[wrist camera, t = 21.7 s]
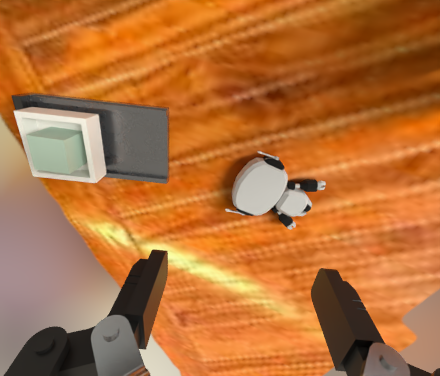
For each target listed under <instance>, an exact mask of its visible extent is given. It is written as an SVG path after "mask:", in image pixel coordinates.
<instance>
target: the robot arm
mask: <svg viewBox="0 0 440 376" xmlns="http://www.w3.org/2000/svg"><path fill="white" fill-rule="evenodd" d="M167 273H168V253H167V251H163V250H152V251H151V254H150V256H149V258H148V259H140V260H139V261H138V262H137V263H135V264H134V265H133V266H132V269H131V271H130V273H129V275H128V277H127V279H126V281H125V284H124V285H123V287H122V289H121V291H120V293H119V295H118V297H117V299H116V301H115V303H114V305H113V307H112V309H111V311H110V313H109V314H108V316H107V317H106V318H104V319H103V320H101V321H100V322H99V323H98V324H97V325H96V326H94V327H92V328H89V329H86V330H81V331H76V332H72V333H66V331H65V330H64V329H63V328H61V327H49V328H46V329H43V330H41V331H40V332H38V333H36V334H35V335H33V336H32V337H31V338H30V339H29V340H28V341H27V342H26V344H25V345H24V347H23V348H22V350H21V351H20V352H19V354H18V355H17V357H16V358H15V360H14V361H13V363H12V364H11V366H10V367H9V369H8V371H7V372H6V373H5V375H4V376H150V373H149V371H148V370H147V369H146V368H145V365H144V363H143V360H142V357H141V354H140V351H139V349H146V347H147V344H148V340H149V337H150V334H151V331H152V327H153V324H154V321H155V317H156V314H157V311H158V307H159V304H160V301H161V298H162V294H163V291H164V288H165V284H166V280H167ZM311 298H312V302H313V305H314V308H315V310H316V313H317V316H318V319H319V322H320V325H321V328H322V331H323V334H324V337H325V340H326V343H327V346H328V349H329V351H330V354H331V357H332V360H333V363H334V366H335V369H336V370H337V371H346V373H347V376H440V368H439V369H436V371H434V372H433V373H432V374H431V373H429V372H426V371H424V370H421V369H419V368H416V367H414V366H412V365H410V364H407V363H406V361H405V360H404V359H403V357H402V356H401V355H400V354H399V353H398V352H397V351H396V350H394V349H393V348H392V347H390V346H388V345H386V344H385V343H384V341H383V339H382V337H381V335H380V334H379V332H378V330H377V328H376V326H375V325H374V323H373V321H372V319H371V317H370V315H369V314H368V312H367V311H366V308H365V306H364V305H363V303H362V302H361V299H360V297H359V295H358V294H357V292H356V290H355V289H354V288H353V287H352V286H351V285H350V284H349V283H348V282H346V281H343V280H342V278H341V276H340V274H339V272H338V271H337V270H333V269H324V268H321V269H320V270H319V272H318V274H317V276H316V279H315V281H314V284H313V286H312V289H311Z"/></svg>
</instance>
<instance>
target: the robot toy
mask: <svg viewBox="0 0 440 376" xmlns="http://www.w3.org/2000/svg"><path fill="white" fill-rule="evenodd" d="M258 152H259V153H260V154H264V155H266V156H264V157H263V158H254V159H253V160H251V161H249V162H248V163H247V164H246V165H245V166H244V167H243V169H242V170H241V171H240V172H239V174H238V175H237V176H236V179H235V182H234V185H233V189H232V199H233V204H234V205H235V206H236V209H237V210H238V211H234V210H229V209H225V210H226V211H228V212H229V211H230V212H235V213H240V214H241V215H250V216H253V215H262V214H264V213H266V212H267V211H269V210H270V209H272V210H273V211H274V212H275V213H278V215H279V220H280V221H281V222H282V223H283V224H284V225H285V226H286V227H287V228H288V229H293V228H292V227H291V226H293V227H295V226H296V224H295V222H293V220H292V218H291V217H290V216H292V217H293V216H303V215H305V214H307V213H306V212H308V211H309V210H310V209H311V206H312V203H311V201H310V200H309V198H308V197H307V195H306V194H305V192H304V191H306V192H316V191H317V190H324V188H325V186H321V185H326V183H325V181H318V182H317V181H316V180H304V181H302V182H300V183H299V184H295V183H294V182H293V181H290V182H287V181H288V177H287V173H286V172H285V170H284V166H283V164H282V163H281V161H280V160H279V158H278V157H277V156H275V157H274V156H271V155H269V154H266V153H263V152H261V151H258ZM303 190H304V191H303Z"/></svg>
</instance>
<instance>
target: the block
mask: <svg viewBox="0 0 440 376" xmlns="http://www.w3.org/2000/svg"><path fill="white" fill-rule="evenodd" d="M26 137H27V141H28V145H29V149H30V153H31V157H32V161H33V165H34V169H36V170H43V171H50V172H57V173H64V174H71V173H72V172H74V171H75V170H77V169H78V168H80V167H81V166H83V165H84V164H86V163H87V156H86V150H85V145H84V139H83V133H82V131H79V130H72V129H65V128H58V127H48V128H46V129H43V130H40V131H37V132H34V133H31V134H28V135H26Z"/></svg>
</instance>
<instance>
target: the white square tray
mask: <svg viewBox="0 0 440 376" xmlns="http://www.w3.org/2000/svg"><path fill="white" fill-rule="evenodd" d="M14 114H15V118H16V121H17V125H18V128H19V131H20V135H21V138H22V141H23V145H24V148H25V151H26V155H27V158H28V162H29V165H30V168H31V172H32V175H33V176H35V177H44V178H53V179H62V180H71V181H81V182H90V183H97V182H98V181H99V180H100V179H102V178H103V177H104V176H105V175H106V169H107V167H106V163H105V159H104V151H103V144H102V137H101V129H100V122H99V121H100V115H99V114H96V113H83V112H74V111H65V110H56V109H51V108H38V107H29V108H25V109H20V110H15V111H14ZM48 127H58V128H65V129H72V130H79V131H82V133H83V139H84V145H85V150H86V156H87V163H86V164H84V165H83V166H81V167H80V168H78V169H77V170H75V171H74V172H72V173H71V174H64V173H57V172H50V171H43V170H36V169H34V165H33V161H32V157H31V153H30V149H29V145H28V141H27V137H26V135H28V134H31V133H34V132H37V131H40V130H43V129H46V128H48Z"/></svg>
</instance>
